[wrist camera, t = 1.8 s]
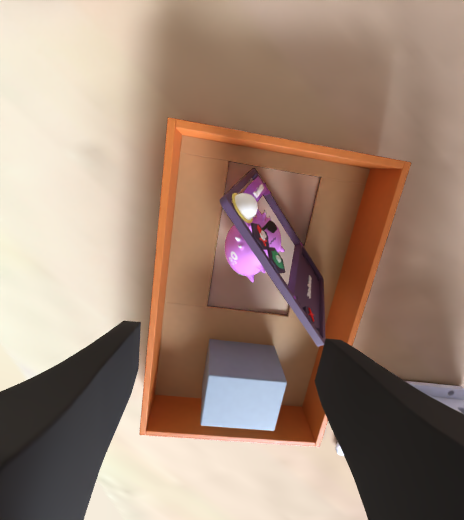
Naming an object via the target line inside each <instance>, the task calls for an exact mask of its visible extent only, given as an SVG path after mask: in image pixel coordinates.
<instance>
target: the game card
mask: <svg viewBox="0 0 464 520" xmlns="http://www.w3.org/2000/svg"><path fill="white" fill-rule="evenodd" d="M251 179H253V180H254V181H253V182H252V183H251V184H250V185H249V186H248V187H247V188H246V189H245V191H244V192H243V193H240V194H238V193H239V192H240V191H241V190H242V189H243V187H244V186H245V185H246V184H247V183H248V182H249V181H250V180H251ZM262 195H263V196H264V197H265V199H266V201H267V202H268V204H269V205H270V207H271V209H272V210H273V212H274V213H275V215H276V216H277V218H278V220H279V221H280V223H281V224H282V226H283V228H284V229H285V231H286V232H287V234H288V235H289V237H290V239H291V240H292V242H293V243H294V245H295V248H294V254H293V260H292V266H291V271H290V277H289V283H288V286H287V284H286V283H285V281H284V280H283V278H282V277H281V275H280V274H279V273H285V269H284V264H283V260H282V258H281V257H280V255H279V254H278V251H281V252H284V251H285V250H284V249H283V247H282V246H281V235H280V231H279V229H278V227H277V226H276V225H275V223H274V222H272V221H271V219H270V216H269V218H267V217H266V211H265V210H264V213H263V214H261V213H260V211H259V209H258V205H257V202H258V200H259V199H260V198H261V196H262ZM231 201H232V202H233V203H232V202H231ZM220 204H221V206H222V207H223V209H224V210H225V212H226V213H227V215H228V216H229V218H230V219H231V221H232V222H233V224H234V225H233V226H232V227H231V229H230V230H229V232H228V234H227V237H226V240H225V254H226V258H227V261H228V263H229V265H230V266H231V267H232V269H233V270H234V271H236V272H237V274H239V275H240V276H242V275H244V276H247V277H248V278H249V280H250V281H251V282H254V275H255V274H257V273H259V272H260V271H262V272H263V273H265V270H266V272H267V273H268V275H269V276H270V278H271V279H272V281H273V282H274V284H275V285H276V287H277V288H278V289H279V291H280V292H281V294H282V295H283V297H284V298H285V300H286V301H287V303H288V304H289V306H290V307H291V308H292V310H293V311H294V313H295V314H296V316H297V317H298V319H299V320H300V322H301V323H302V325H303V326H304V328H305V329H306V330H307V332H308V333H309V335H310V336H311V338H312V339H313V341H314V342H315V344H316V345H317V346H318V347H319V346H322V345H324V343H325V304H324V279H323V277H322V275H321V273H320V272H319V270H318V269H317V267H316V265H315V264H314V262H313V261H312V259H311V257H310V256H309V254H308V253H307V251H306V249H305V248H304V246H303V245H302V243H301V241H300V240H299V238H298V237H297V235H296V233H295V232H294V230H293V229H292V227H291V225H290V224H289V222H288V220H287V219H286V217H285V216H284V214H283V212H282V211H281V209H280V208H279V206H278V204H277V203H276V201H275V200H274V198H273V196H272V195H271V192H270V191H269V190H268V188H267V187H266V183H264V182H263V180H262V179H261V177H260V176H259V174H258V172H257V171H256V169H255V168H253V169H252V170H250V171H249V172H248V173H247V174H246V175H245V176H244V177H243V178H242V179H241V180H239V181H238V182H237V183H236V184H235V185H234V186H233V187H232V188H231V189H230V190H229V191H228V192H227V193H226V194H225V195H224V196H223V197H222V198H221V199H220ZM255 215H257V217H254V216H255Z"/></svg>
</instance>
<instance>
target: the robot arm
mask: <svg viewBox="0 0 464 520" xmlns="http://www.w3.org/2000/svg"><path fill="white" fill-rule="evenodd" d="M140 326H141V322H131V321H123V322H121V323H120V324H119V325H117V326H116V327H114V328H113V329H112V330H110V331H109V332H107V333H106V334H105V335H103V336H102V337H100V338H99V339H97V340H96V341H95V342H93V343H92V344H90V345H89V346H87V347H86V348H84V349H82V350H81V351H79V352H78V353H76V354H74V355H73V356H71V357H69V358H68V359H66V360H65V361H63V362H61V363H59V364H58V365H56V366H54V367H52V368H50V369H48V370H47V371H45V372H43V373H41V374H39V375H37V376H35V377H33V378H31V379H28V380H26V381H24V382H22V383H20V384H17V385H15V386H13V387H10V388H8V389H6V390H3V391H1V392H0V520H84V516H85V513H86V510H87V507H88V503H89V501H90V498H91V494H92V491H93V488H94V485H95V482H96V479H97V476H98V473H99V470H100V467H101V465H102V462H103V459H104V457H105V454H106V452H107V449H108V447H109V445H110V442H111V440H112V438H113V435H114V433H115V431H116V428H117V426H118V424H119V421H120V419H121V417H122V414H123V412H124V410H125V407H126V405H127V403H128V400H129V398H130V395H131V393H132V389H133V386H134V382H135V379H136V375H137V372H138V366H139V346H140ZM315 385H316V389H317V392H318V396H319V399H320V402H321V405H322V407H323V410H324V412H325V414H326V417H327V419H328V421H329V423H330V426H331V428H332V430H333V432H334V434H335V437H336V439H337V441H338V442H337V445H336V451H337V454H339V455H344V456H345V458H346V461H347V463H348V465H349V467H350V470H351V472H352V475H353V477H354V480H355V482H356V485H357V488H358V491H359V494H360V497H361V500H362V502H363V505H364V508H365V511H366V514H367V517H368V520H464V388H463V387H462V386H453V385H443V384H432V383H422V382H412V381H403V380H402V379H400V378H399V377H397V376H396V375H394V374H393V373H391V372H389V371H388V370H386V369H385V368H383V367H382V366H380V365H379V364H377V363H376V362H375V361H373V360H372V359H370V358H369V357H367V356H366V355H364V354H363V353H361V352H360V351H358V350H357V349H355V348H354V347H352V346H351V345H349V344H347V343H346V342H344V341H342V340H338V339H325V343H324V347H323V351H322V355H321V358H320V362H319V366H318V370H317V374H316V377H315Z"/></svg>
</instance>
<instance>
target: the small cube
mask: <svg viewBox="0 0 464 520" xmlns="http://www.w3.org/2000/svg"><path fill="white" fill-rule="evenodd" d="M286 384H287V381H286V378H285V375H284V372H283V369H282V366H281V364H280V361H279V358H278V355H277V352H276V349H275V346H272V345H262V344H253V343H243V342H234V341H224V340H215V339H209V343H208V350H207V356H206V362H205V368H204V375H203V381H202V398H201V419H200V424H201V425H202V426H215V427H229V428H243V429H257V430H270V431H274V430H275V426H276V422H277V419H278V415H279V411H280V407H281V403H282V399H283V396H284V392H285V388H286Z"/></svg>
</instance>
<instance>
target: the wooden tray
mask: <svg viewBox="0 0 464 520" xmlns="http://www.w3.org/2000/svg"><path fill="white" fill-rule="evenodd" d="M229 161H230V162H236V163H242V164H248V165H253V166H259V167H265V168H271V169H277V170H282V171H288V172H294V173H300V174H305V175H311V176H317V177H321V179H320V183H319V187H318V191H317V195H316V199H315V204H314V208H313V212H312V216H311V220H310V224H309V228H308V233H307V237H306V241H305V245H304V248H305V249H306V251H307V253H308V254H309V256H310V257H311V259H312V261H313V262H314V264H315V265H316V267H317V269H318V270H319V272H320V273H321V275H322V277H323V279H324V304H325V339H338V340H342V341H344V342H346V343H347V344H349V345H351V346H352V345H353V342H354V339H355V336H356V333H357V330H358V326H359V323H360V320H361V317H362V314H363V311H364V308H365V305H366V302H367V299H368V296H369V292H370V289H371V286H372V283H373V280H374V277H375V274H376V271H377V268H378V265H379V262H380V258H381V255H382V252H383V249H384V246H385V243H386V240H387V237H388V234H389V231H390V228H391V224H392V221H393V218H394V215H395V212H396V209H397V206H398V203H399V200H400V197H401V194H402V190H403V187H404V184H405V181H406V178H407V175H408V172H409V169H410V166H411V162H406V161H401V160H396V159H390V158H385V157H380V156H374V155H369V154H363V153H359V152H354V151H348V150H343V149H337V148H332V147H327V146H321V145H316V144H310V143H305V142H300V141H294V140H289V139H284V138H278V137H273V136H267V135H262V134H257V133H251V132H246V131H240V130H235V129H230V128H224V127H219V126H213V125H207V124H202V123H196V122H191V121H186V120H180V119H175V118H169V117H168V120H167V131H166V143H165V154H164V165H163V176H162V187H161V199H160V210H159V221H158V232H157V243H156V255H155V266H154V277H153V288H152V299H151V311H150V322H149V333H148V344H147V356H146V367H145V378H144V389H143V400H142V412H141V423H140V435H145V434H146V435H149V436H163V437H178V438H193V439H208V440H223V441H238V442H252V443H267V444H282V445H297V446H312V447H314V446H315V447H320V444H321V441H322V438H323V435H324V432H325V429H326V425H327V422H328V419H327V417H326V414H325V412H324V410H323V407H322V405H321V402H320V399H319V396H318V392H317V389H316V385H315V377H316V374H317V370H318V366H319V362H320V358H321V355H322V351H323V347H324V345H322V346H319V347H318V346H317V345H316V344H315V342H314V341H313V339H312V338H311V336H310V335H309V333H308V332H307V330H306V329H305V328H304V326H303V325H302V323H301V322H300V320H299V319H298V317H297V316H296V314H295V313H294V311H293V310H292V308H291V307H289V311H288V316H287V315H279V314H270V313H262V312H253V311H245V310H236V309H228V308H219V307H211V306H207V304H208V297H209V291H210V284H211V277H212V271H213V264H214V258H215V251H216V244H217V238H218V231H219V224H220V218H221V211H222V206H221V204H220V199H221V198H222V197H223V196H224V191H225V185H226V178H227V171H228V165H229ZM209 339H215V340H224V341H234V342H243V343H253V344H262V345H272V346H275V349H276V352H277V355H278V358H279V361H280V364H281V366H282V369H283V372H284V375H285V378H286V381H287V384H286V388H285V392H284V396H283V399H282V403H281V407H280V411H279V415H278V419H277V422H276V426H275V430H274V431H270V430H257V429H243V428H229V427H215V426H202V425H201V424H200V419H201V398H202V381H203V375H204V368H205V362H206V356H207V350H208V343H209Z"/></svg>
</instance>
